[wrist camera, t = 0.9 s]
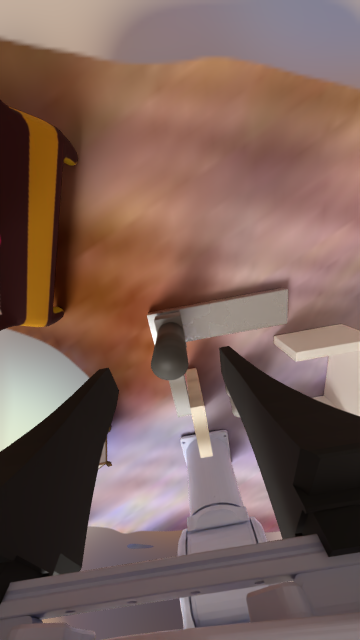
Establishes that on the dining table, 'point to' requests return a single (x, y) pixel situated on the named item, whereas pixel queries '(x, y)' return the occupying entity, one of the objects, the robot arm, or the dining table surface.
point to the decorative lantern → (29, 216)
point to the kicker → (180, 375)
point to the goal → (330, 361)
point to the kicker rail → (229, 314)
